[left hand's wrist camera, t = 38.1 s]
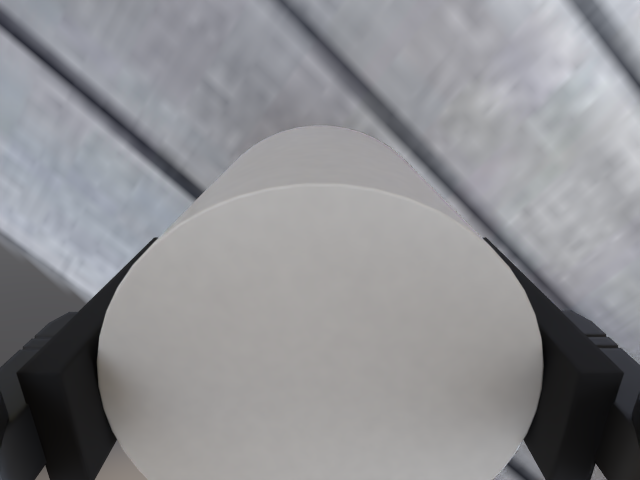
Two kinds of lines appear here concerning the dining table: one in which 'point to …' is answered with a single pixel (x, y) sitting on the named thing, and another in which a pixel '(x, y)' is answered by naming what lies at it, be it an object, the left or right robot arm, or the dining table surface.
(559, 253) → the dining table surface
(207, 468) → the can
